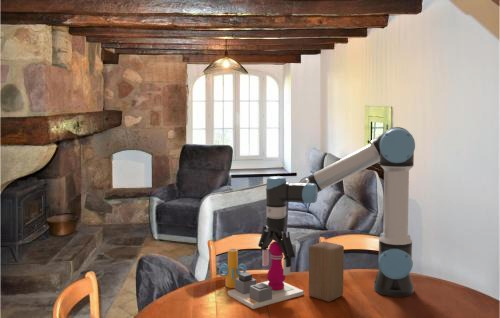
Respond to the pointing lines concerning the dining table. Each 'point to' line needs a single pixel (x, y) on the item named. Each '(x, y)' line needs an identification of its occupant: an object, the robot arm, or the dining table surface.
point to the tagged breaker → (260, 286)
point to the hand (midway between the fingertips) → (275, 270)
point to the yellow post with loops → (232, 268)
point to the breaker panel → (261, 293)
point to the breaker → (245, 276)
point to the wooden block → (326, 271)
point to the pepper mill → (276, 267)
